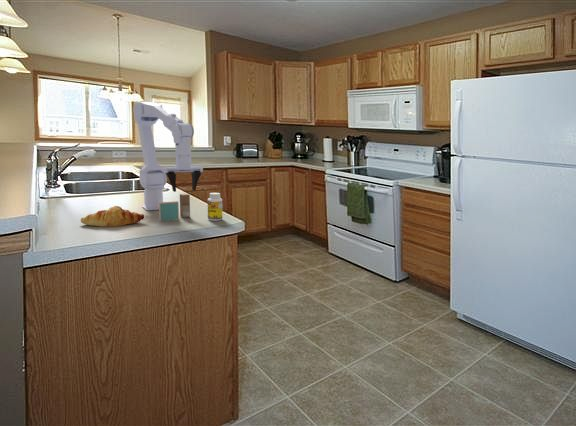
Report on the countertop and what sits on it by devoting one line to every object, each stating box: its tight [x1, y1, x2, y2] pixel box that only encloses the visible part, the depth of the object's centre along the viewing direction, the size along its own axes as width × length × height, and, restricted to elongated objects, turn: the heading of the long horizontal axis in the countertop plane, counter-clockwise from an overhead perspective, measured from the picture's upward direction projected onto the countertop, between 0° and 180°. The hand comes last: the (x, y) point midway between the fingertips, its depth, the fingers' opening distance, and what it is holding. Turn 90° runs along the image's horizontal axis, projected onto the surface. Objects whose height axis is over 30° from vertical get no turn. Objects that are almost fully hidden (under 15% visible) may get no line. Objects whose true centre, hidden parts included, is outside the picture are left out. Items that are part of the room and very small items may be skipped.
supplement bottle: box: [207, 192, 223, 222], centre depth 157 cm, size 6×6×10 cm
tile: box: [158, 200, 180, 222], centre depth 155 cm, size 1×7×7 cm, turn 120°
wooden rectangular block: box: [179, 193, 191, 219], centre depth 160 cm, size 3×3×9 cm
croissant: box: [80, 205, 145, 228], centre depth 147 cm, size 21×10×8 cm
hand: (184, 190), depth 159 cm, fingers open, 7 cm apart
